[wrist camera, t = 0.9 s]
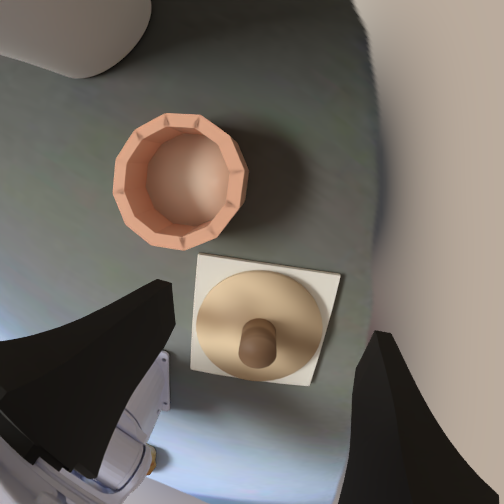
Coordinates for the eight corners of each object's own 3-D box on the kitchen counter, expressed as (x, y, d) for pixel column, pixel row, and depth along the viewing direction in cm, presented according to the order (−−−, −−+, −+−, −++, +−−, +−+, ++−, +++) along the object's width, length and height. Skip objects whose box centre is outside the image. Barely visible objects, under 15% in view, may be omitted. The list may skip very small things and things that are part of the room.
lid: (306, 382, 30) (309, 408, 26) (195, 366, 30) (185, 392, 26) (334, 279, 27) (344, 299, 22) (202, 260, 27) (190, 276, 23)
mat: (308, 382, 30) (309, 386, 30) (191, 366, 31) (190, 369, 30) (339, 273, 27) (340, 275, 26) (199, 252, 27) (197, 254, 27)
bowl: (239, 242, 27) (232, 258, 22) (135, 227, 27) (110, 238, 22) (255, 129, 24) (252, 119, 19) (146, 121, 24) (122, 113, 19)
